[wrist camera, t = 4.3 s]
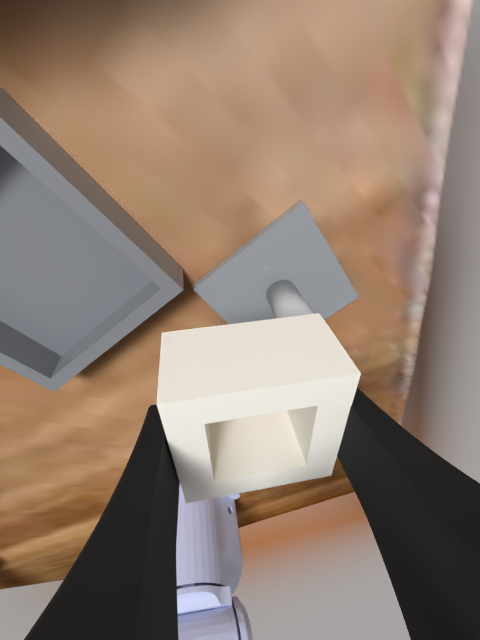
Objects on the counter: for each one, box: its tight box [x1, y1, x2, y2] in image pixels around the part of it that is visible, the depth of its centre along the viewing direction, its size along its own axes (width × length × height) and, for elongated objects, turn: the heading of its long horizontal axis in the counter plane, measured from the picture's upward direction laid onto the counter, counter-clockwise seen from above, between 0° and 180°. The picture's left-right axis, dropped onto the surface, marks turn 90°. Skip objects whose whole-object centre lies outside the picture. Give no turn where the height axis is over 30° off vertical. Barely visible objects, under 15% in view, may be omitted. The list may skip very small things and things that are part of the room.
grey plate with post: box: [193, 200, 359, 324], centre depth 18 cm, size 8×8×5 cm
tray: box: [0, 88, 184, 392], centre depth 15 cm, size 11×11×3 cm
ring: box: [157, 313, 361, 503], centre depth 11 cm, size 6×6×3 cm
